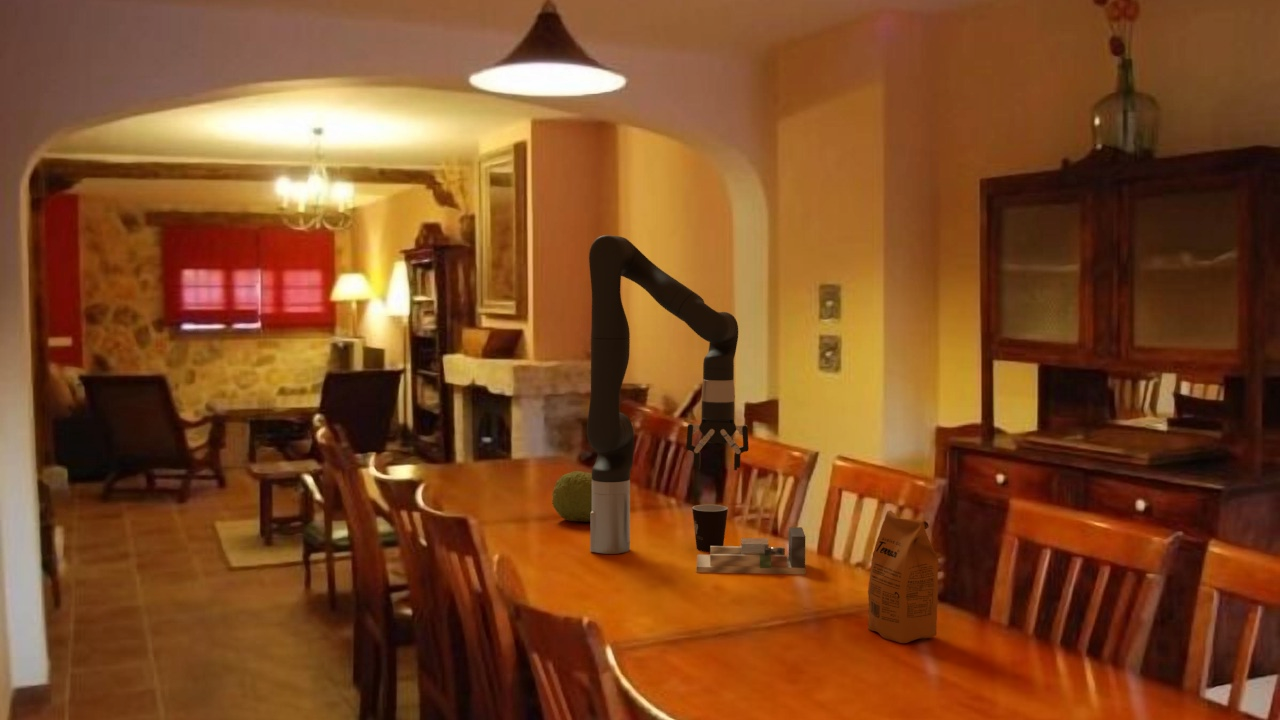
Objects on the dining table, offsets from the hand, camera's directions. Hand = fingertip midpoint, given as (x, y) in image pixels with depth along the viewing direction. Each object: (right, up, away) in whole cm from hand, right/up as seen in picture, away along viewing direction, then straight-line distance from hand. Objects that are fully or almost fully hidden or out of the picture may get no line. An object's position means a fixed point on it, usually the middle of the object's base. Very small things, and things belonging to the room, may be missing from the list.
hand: (717, 469), depth 263 cm
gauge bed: (+7, -22, -4) cm, 23 cm away
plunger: (+10, -20, -6) cm, 23 cm away
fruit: (-33, -19, +47) cm, 61 cm away
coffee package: (+30, -25, -54) cm, 67 cm away
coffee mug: (0, -21, +16) cm, 26 cm away
